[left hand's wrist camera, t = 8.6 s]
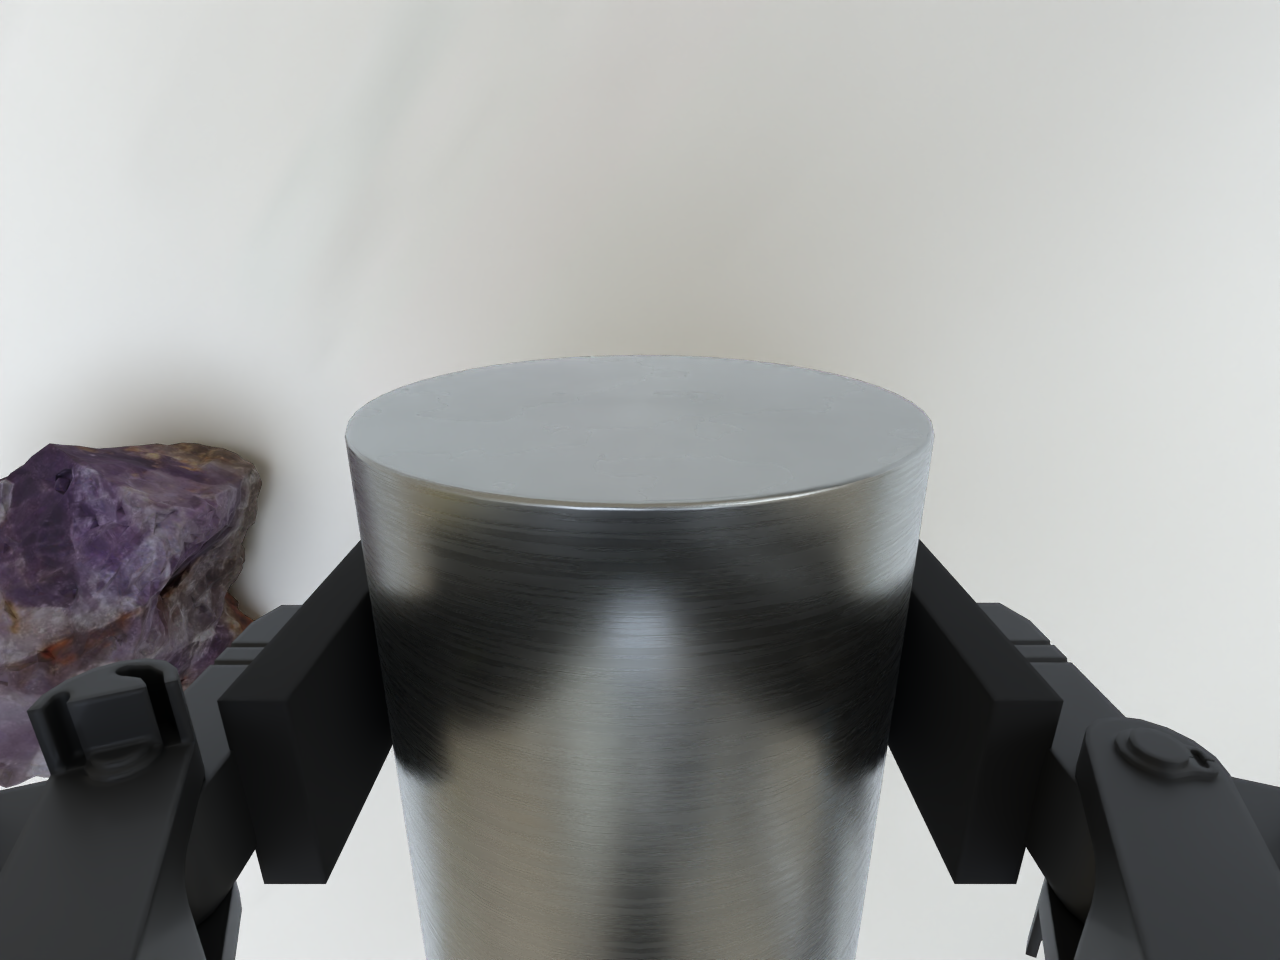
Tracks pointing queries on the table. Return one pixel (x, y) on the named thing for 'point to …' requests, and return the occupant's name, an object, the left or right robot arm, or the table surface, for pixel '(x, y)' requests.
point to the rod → (640, 649)
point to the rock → (115, 570)
